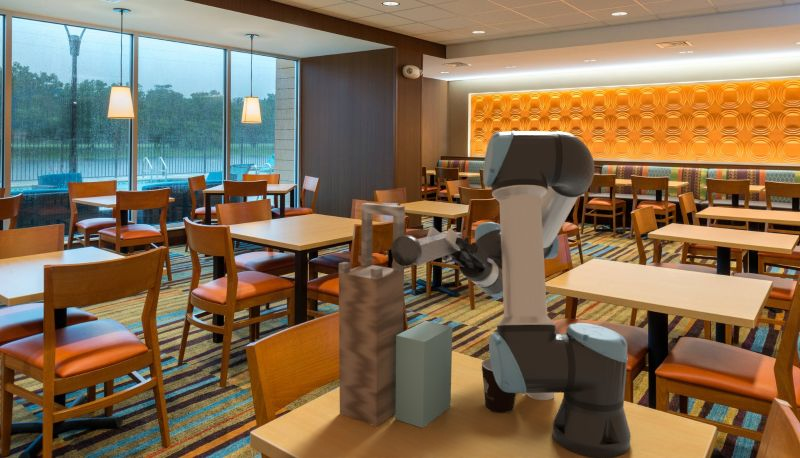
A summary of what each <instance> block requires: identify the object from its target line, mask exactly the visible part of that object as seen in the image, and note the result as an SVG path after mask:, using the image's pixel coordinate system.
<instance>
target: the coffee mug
mask: <svg viewBox="0 0 800 458" xmlns="http://www.w3.org/2000/svg"><path fill="white" fill-rule="evenodd" d="M481 371H482V383H483V394H484V395H483V396H484V406H485V408H486V410H487V409H488V410H489V411H491V412H494V413H498V414H499V413H500V414H501V413H502V414H505V413H510V412H511V411H513V410H514V407H515V401H516V397H517V393H508V392H505V391H503V390H501V389H500V387H499V386H498V384H497V382H496V380H495V377H494V374H493V370H492V366H491V361H490V357H489V358H486V359H484V360H483V361H482V362H481Z"/></svg>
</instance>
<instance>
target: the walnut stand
mask: <svg viewBox="0 0 800 458" xmlns="http://www.w3.org/2000/svg"><path fill="white" fill-rule="evenodd" d="M405 207H406V206H404V205H396V204H383V203H375V202H374V203H372V202H364V203H361V265H360V266H357V267H354V268H351V262H350V261H349V262H348V261H343V262H339V263H338V323H339V324H338V331H339V332H338V333H339V335H338V338H339V339H338V341H339V342H338V344H339V345H338V347H339V348H338V352H339V353H338V355H339V356H338V358H339V359H338V361H339V363H338V365H339V366H338V367H339V369H338V370H339V372H338V373H339V415H343V416H346V417H347V418H348V417H349V418H351V419H355V420H357V421H360V422H363V423H366V424H369V425H371V426H375V427H377V426H380V424H382V423H384V422H385V421H387V419H389V418H391V417H392V416H395V414H396V335H398V334H400V333H402V332H404V305H405V304H404V299H405V297H404V294H405V292H404V289H405V287H404V286H405V266H401V265H399V264H398V263H397V262H396V261H395V260H394V258H393V257H392V267H387V266H386V267H385V266H380V265H375V264H374V265H373V215H379V216H380V215H381V216H389V217H390V216H391V217H393V218H392V219H393V226H392V227H393V231H392V233H393V234H392V237H393V238H392V239H393V240H392V243H393V242H394V240H395V239H397V238H398V237H402V236H405V216H406V215H405V212H406V211H405V209H406V208H405Z"/></svg>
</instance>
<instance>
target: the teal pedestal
mask: <svg viewBox="0 0 800 458" xmlns="http://www.w3.org/2000/svg"><path fill="white" fill-rule="evenodd" d="M452 355H453V326H452V325H447V324H442V323H438V322H433V321H427V320H425V321H422V322H420V323H418V324H416V325H414V326H413V327H410V328H409V329H406V330H405V331H404V330H403V332H402V333H400V334H398V335H396V413H395V414H394V416H395V420H398V421H400V422H404V423H407V424H409V425H413V426H416V427H419V428H422V429H424V428H425V427H427V425H429V424H430V423H432V422H433V421H434V420H435V419H436V418H437V417H439V416H441V415H442V414H443V413H444V412H445V411H447V410H449V408H451V405H452V404H451V403H452V402H451V400H452V397H451V396H452V395H451V394H452V360H453V359H452V358H453V356H452Z"/></svg>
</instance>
